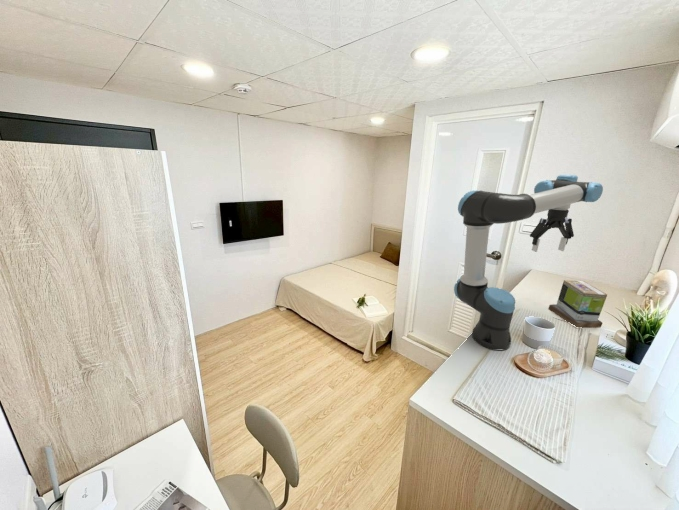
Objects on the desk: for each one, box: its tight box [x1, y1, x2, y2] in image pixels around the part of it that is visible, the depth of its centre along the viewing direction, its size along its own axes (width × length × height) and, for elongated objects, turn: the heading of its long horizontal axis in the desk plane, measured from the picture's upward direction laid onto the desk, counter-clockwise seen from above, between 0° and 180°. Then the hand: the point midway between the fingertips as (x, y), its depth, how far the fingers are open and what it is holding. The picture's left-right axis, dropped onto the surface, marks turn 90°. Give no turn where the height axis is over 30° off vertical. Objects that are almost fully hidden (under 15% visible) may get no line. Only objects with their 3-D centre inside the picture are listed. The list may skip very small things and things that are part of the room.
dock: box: [548, 303, 603, 329], centre depth 131 cm, size 12×17×3 cm
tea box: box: [556, 279, 608, 321], centre depth 128 cm, size 15×10×15 cm
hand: (547, 250), depth 131 cm, fingers open, 13 cm apart
